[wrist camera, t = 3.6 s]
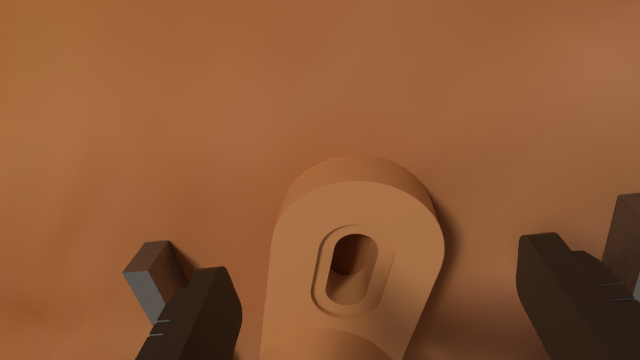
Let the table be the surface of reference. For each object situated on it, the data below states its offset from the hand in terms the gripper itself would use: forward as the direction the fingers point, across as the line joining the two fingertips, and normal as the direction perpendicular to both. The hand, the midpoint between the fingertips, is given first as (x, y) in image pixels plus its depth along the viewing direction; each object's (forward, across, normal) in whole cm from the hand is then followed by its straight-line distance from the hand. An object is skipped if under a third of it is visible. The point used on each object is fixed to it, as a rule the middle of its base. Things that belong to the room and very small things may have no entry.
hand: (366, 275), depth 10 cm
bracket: (+9, +2, +9) cm, 13 cm away
